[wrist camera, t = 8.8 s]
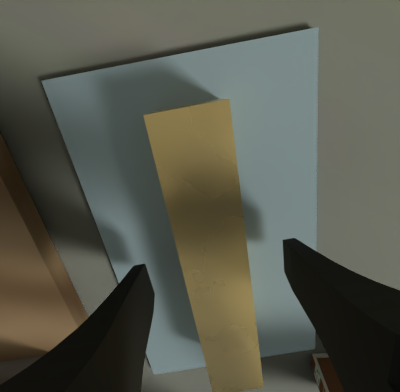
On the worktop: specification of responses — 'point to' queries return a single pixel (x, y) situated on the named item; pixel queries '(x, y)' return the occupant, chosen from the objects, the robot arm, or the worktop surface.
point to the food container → (325, 373)
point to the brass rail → (210, 235)
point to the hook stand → (29, 279)
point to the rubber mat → (247, 170)
